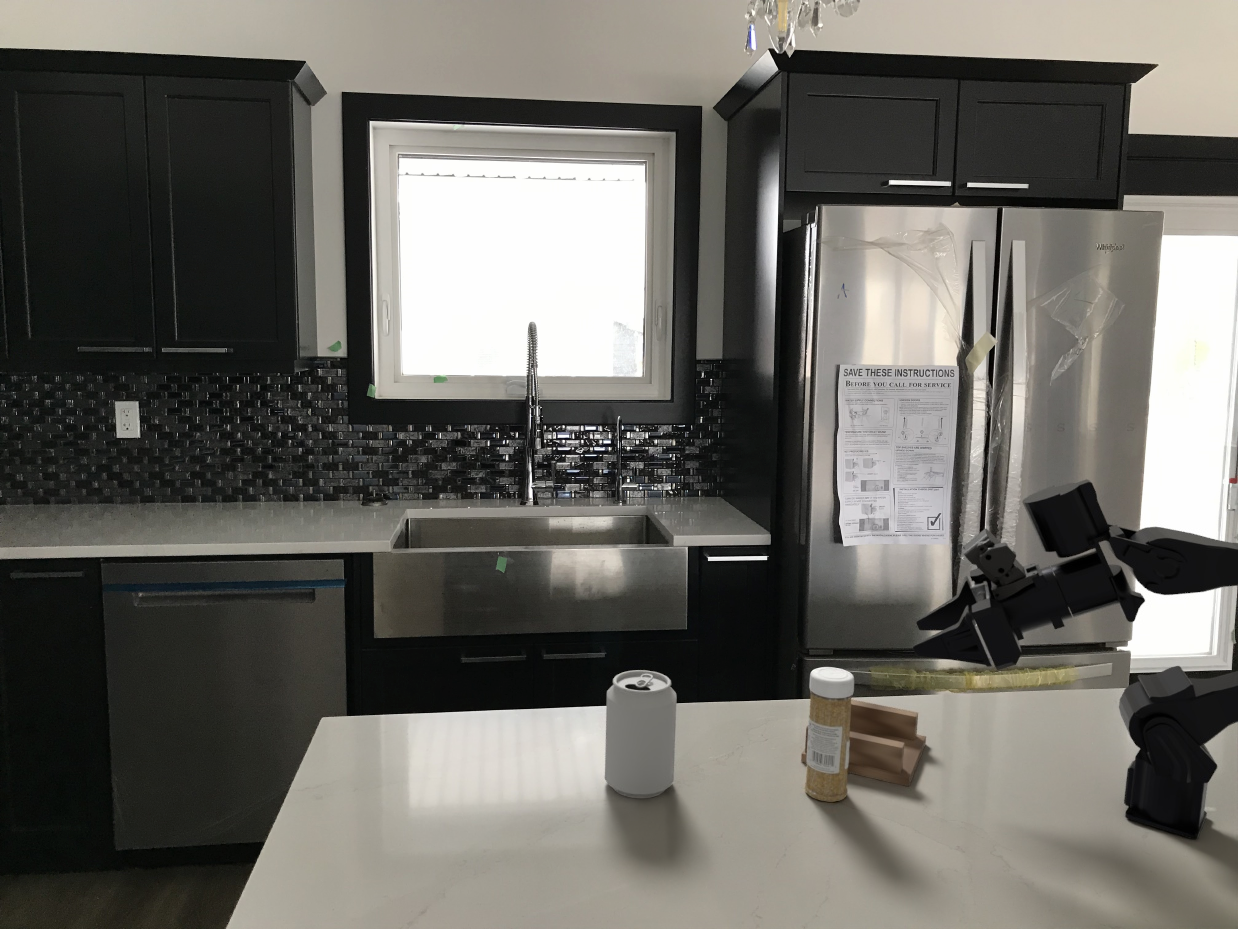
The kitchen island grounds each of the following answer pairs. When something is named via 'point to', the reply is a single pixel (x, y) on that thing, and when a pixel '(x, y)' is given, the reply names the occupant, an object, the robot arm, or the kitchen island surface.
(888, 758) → the walnut cradle
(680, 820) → the kitchen island surface
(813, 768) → the sprinkles bottle
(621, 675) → the can
